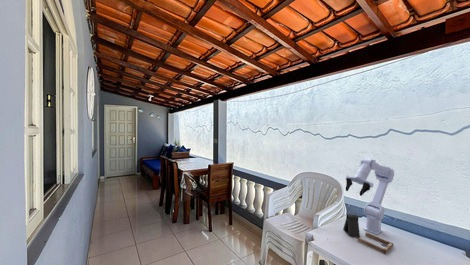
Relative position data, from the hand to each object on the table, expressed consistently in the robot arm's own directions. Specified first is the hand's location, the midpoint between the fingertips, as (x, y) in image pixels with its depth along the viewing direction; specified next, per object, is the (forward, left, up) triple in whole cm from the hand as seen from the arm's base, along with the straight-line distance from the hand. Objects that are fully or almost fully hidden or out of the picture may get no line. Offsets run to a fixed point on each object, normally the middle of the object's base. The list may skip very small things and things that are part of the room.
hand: (353, 192), depth 113 cm
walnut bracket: (-11, +9, -30) cm, 33 cm away
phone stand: (-11, -4, -30) cm, 32 cm away
